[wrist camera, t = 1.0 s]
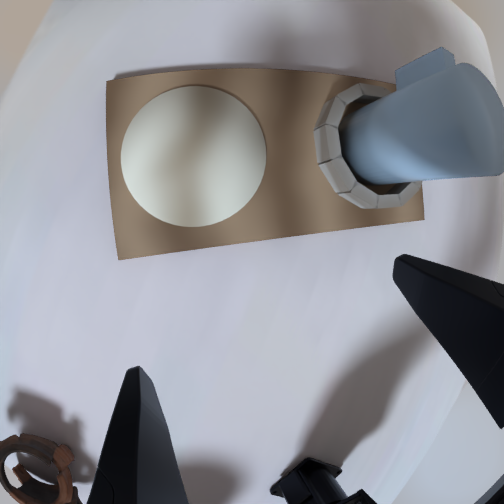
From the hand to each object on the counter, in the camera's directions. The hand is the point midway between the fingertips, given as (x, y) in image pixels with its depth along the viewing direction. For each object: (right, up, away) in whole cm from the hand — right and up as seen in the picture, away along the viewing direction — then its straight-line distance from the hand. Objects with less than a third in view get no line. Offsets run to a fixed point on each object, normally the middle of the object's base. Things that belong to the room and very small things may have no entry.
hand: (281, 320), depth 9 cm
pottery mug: (-22, -20, +11) cm, 32 cm away
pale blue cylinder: (+9, +12, +14) cm, 20 cm away
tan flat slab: (+2, +10, +13) cm, 17 cm away
